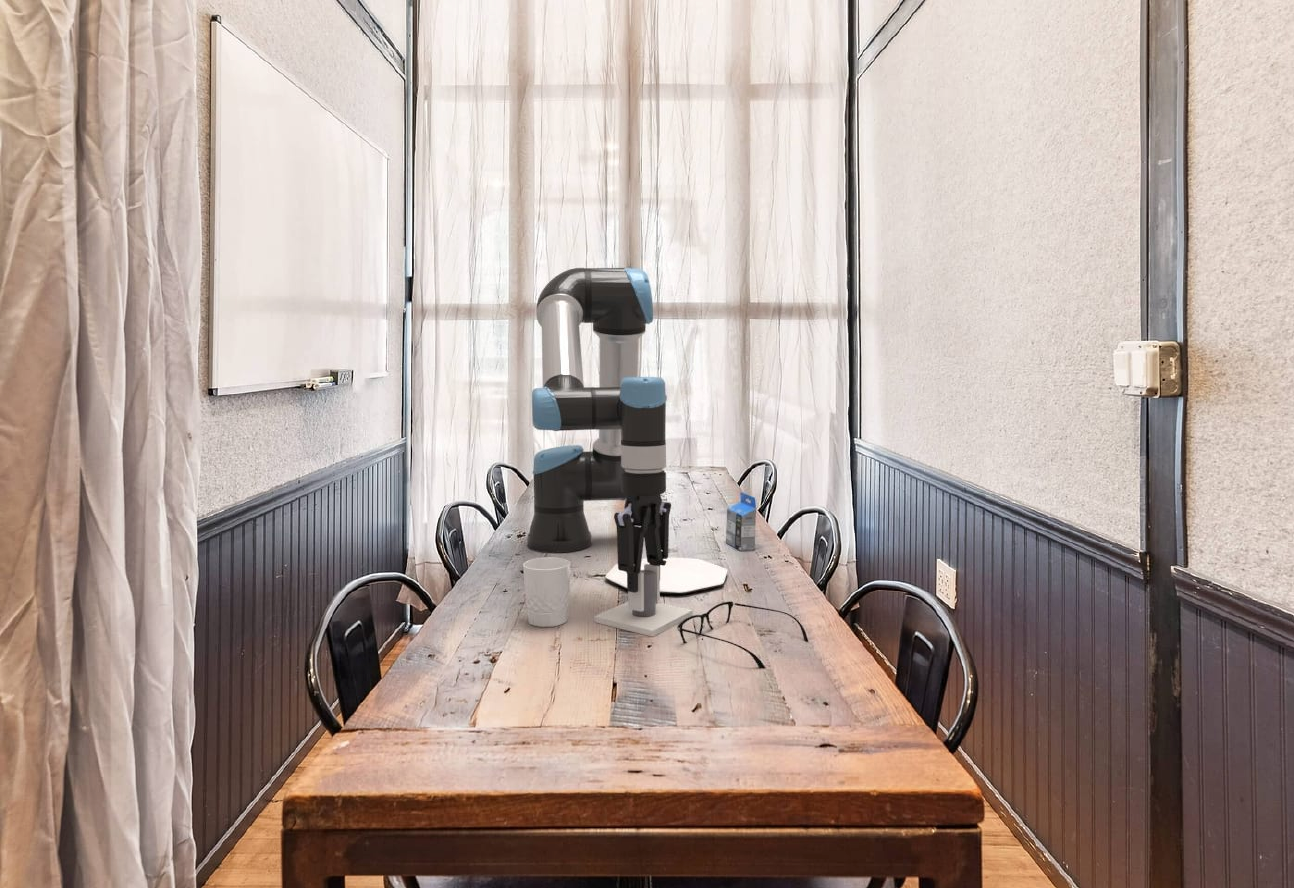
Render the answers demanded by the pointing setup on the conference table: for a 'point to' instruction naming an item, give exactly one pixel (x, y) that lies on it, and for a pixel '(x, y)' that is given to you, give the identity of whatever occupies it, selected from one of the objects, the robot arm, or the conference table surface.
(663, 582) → the plate
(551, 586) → the white cup
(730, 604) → the eyeglasses
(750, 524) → the label tape box
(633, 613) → the lid
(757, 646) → the conference table surface
